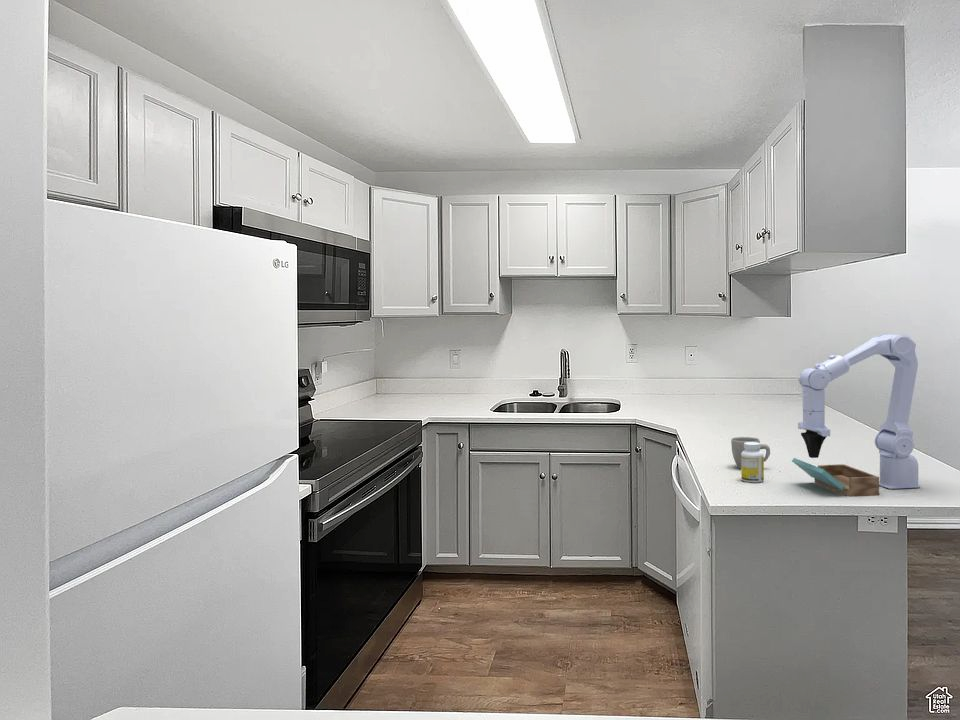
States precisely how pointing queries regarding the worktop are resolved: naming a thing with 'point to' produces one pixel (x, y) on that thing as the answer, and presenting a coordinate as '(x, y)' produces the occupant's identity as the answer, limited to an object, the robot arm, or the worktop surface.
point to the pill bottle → (752, 463)
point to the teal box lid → (818, 474)
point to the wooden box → (851, 480)
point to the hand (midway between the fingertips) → (813, 457)
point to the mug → (739, 448)
